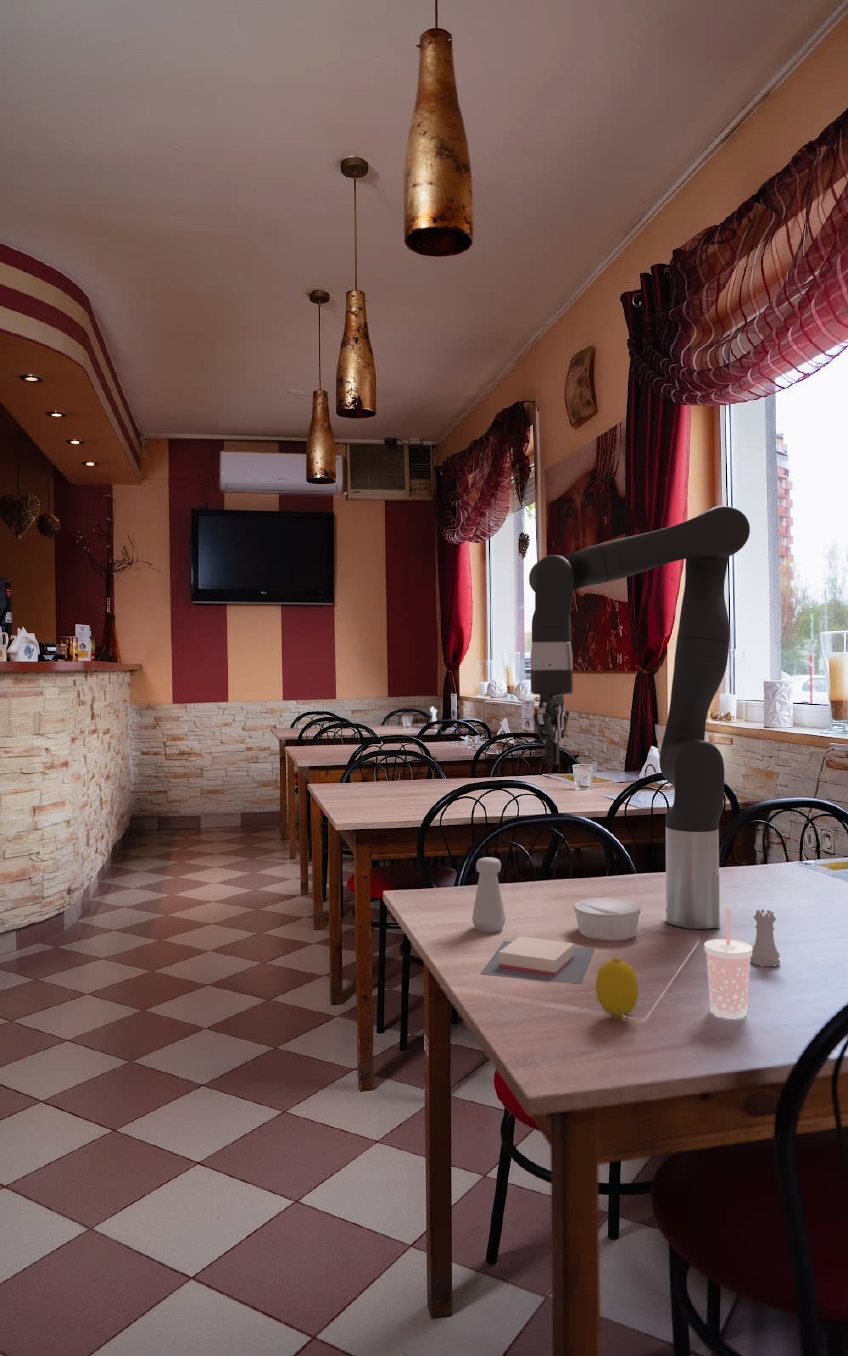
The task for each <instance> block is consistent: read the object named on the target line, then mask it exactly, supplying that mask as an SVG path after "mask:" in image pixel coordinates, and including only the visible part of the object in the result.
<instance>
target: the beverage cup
mask: <svg viewBox="0 0 848 1356" xmlns="http://www.w3.org/2000/svg"><path fill="white" fill-rule="evenodd" d="M725 911H726V912H725V925H726V926H725V928H726V929H725V930H726V932H725V938H724V939H723V938H719V939H715V938H714V939H709V940H707V941H705V942H703V946H704V952H705V954H706V965H707V983H708V994H709V997H708V998H709V1011H710V1014H712V1013H713V1014H714V1015H715V1016H714V1015H713V1014H712V1015H713V1016H714V1017H716V1018H719V1017H724V1018H729V1019H736V1018H741V1017H745V1016H746V1015H747V1016H748V1001H749V987H750V986H749V985H750V984H749V983H750V970H751V969H750V968H751V960H750V957H751V956H752V951H753V948H754V947H753V946H752V945H750V944H749V943H747V942H745V941H744V942H743V941H740V940H737V939H735V940H734V939H731V908H730V907H726V908H725ZM747 1016H746V1017H747ZM746 1017H745V1018H746ZM729 1019H728V1020H729Z"/></svg>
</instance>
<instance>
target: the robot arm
mask: <svg viewBox="0 0 848 1356" xmlns="http://www.w3.org/2000/svg"><path fill="white" fill-rule="evenodd" d="M750 527H751V525H750V523H749V519H748V517H747V516H746V515H745V514H744V513H743V512H742V511H741V510H739V509H738V508H736V507H733V506H729V505H719V506H714V507H712V508H709V509H707V510H706V511H703V512H702V513H700V514H698V515H697V516H695V517H693V518H691V519H688V520H686V521H683V522H680V523H677V524H674V525H671V526H668V527H667V526H666V527H665V528H661V529H657V530H653V531H649V532H645V533H640V534H636V535H635V534H634V535H632V536H625V537H623V538H618V539H615V540H614V539H613V540H610V541H604V542H602V543H597V544H595V545H591V546H588V547H586V548H584V549H581V550H579V551H577V552H573V553H569V554H565V555H558V554H551V555H547V556H545V557H543V558H541V559H539V561H537V562H536V563H535V564H534V565H533V566H532V568H531V569H530V572H529V575H528V582H529V586H530V588H531V590H532V591H533V592H534V594H535V595H534V605H535V606H534V612H533V615H532V619H531V648H530V649H531V650H530V692H531V694H532V695H538V696H539V702H538V706H537V712H534V713H533V721H534V724H535V728H536V731H537V734H538V738H539V740H540V741H542V742H543V744H544V763H545V764H546V765H554V766H555V765H558V764H559V763H560V743H561V741H562V739H564V738H565V734H566V729H567V726H568V722H569V721H568V720H569V716H570V712H569V710H567V709H566V708H567V707H566V704H565V700H564V695H571V694H572V693H573V691H574V686H573V685H574V683H573V682H574V680H573V678H574V676H573V675H574V673H573V672H574V670H573V661H574V660H573V650H572V623H571V621H572V620H571V613H572V605H573V604H572V603H573V596H574V591H576V590H579V589H582V588H585V587H588V586H594V585H599V584H604V583H608V582H609V583H610V582H613V581H616V580H622V579H624V578H629V577H631V576H635V575H638V574H640V573H643V572H647V571H649V570H653V569H655V568H657V567H660V566H661V567H662V566H664V565H667V564H671V563H674V562H678V561H682V560H685V577H684V579H685V580H684V589H683V595H682V599H681V600H682V602H681V607H680V608H681V609H680V616H679V622H678V631H677V634H676V635H677V636H676V642H675V643H676V646H675V650H674V651H675V653H674V663H673V664H674V665H673V673H672V681H671V690H670V691H671V692H670V701H669V703H670V704H669V710H668V714H667V715H668V716H667V721H666V724H665V730H664V734H663V738H662V741H661V747H660V751H659V757H658V758H659V759H658V761H659V762H658V763H659V769H660V773H661V775H662V776H663V778H664V779H665V781H666V782H668V783H669V784H670V785H672V786H674V795H673V796H674V798H673V804H672V806H671V807H670V808H669V809H668V810H667V811H666V813H665V912H666V913H665V915H666V917H665V918H666V919H665V920H666V922H667V923H668V924H670V925H671V926H675V927H680V928H684V929H694V930H698V929H699V930H704V929H706V930H707V929H720V927H721V926H720V925H721V924H720V923H721V921H720V920H721V919H720V911H721V910H720V909H721V908H720V904H721V903H720V900H721V899H720V846H719V845H720V843H719V842H720V838H719V837H720V834H719V833H720V832H719V831H720V829H719V828H720V818H721V816H722V814H723V811H724V798H725V796H724V795H725V763H724V757H723V756H722V754H721V751H720V750H719V748H718V747H717V746H715V745H714V744H713V743H711V742H709V741H706V740H705V737H706V724H707V718H708V713H709V709H710V707H711V704H712V702H713V700H714V697H715V696H716V693H717V692H718V690H719V688H720V685H721V683H722V681H723V679H724V677H725V673H726V669H727V666H728V659H729V650H730V641H731V640H730V639H731V627H730V621H729V620H730V619H729V615H728V611H727V610H728V609H727V605H726V599H725V584H726V583H725V582H726V581H725V580H726V574H727V568H728V563H729V560H730V557H731V556H733V555H735V554H736V553H739V551H740V550H741V549H743V547H745V545H746V544H747V542H748V540H749V537H750V534H751V533H750V532H751V529H750Z"/></svg>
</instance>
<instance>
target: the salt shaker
mask: <svg viewBox="0 0 848 1356" xmlns="http://www.w3.org/2000/svg"><path fill="white" fill-rule="evenodd" d="M501 867H502V863H501V860H500V859H498V858H496V857H492V856H490V857H489V856H486V857H484V856H483V857H482V858H479V859H478V860H477V861H476V863H475V869H476V872H478V873H479V875H478V881H477V886H476V887H477V888H476V893H475V899H474V900H475V901H474V904H473V905H474V906H473V912H472V917H471V920H472V923H473V926H474V929H475V930H476V931H478V932H480V933H484V934H495V933H498V932H502V930H503V928H504V926H505V923H506V914H505V913H506V912H505V908H504V905H503V899H502V894H501V893H502V892H501V888H500V884H499V878H498V877H499V876H498V873H500V872H501V869H502V868H501Z"/></svg>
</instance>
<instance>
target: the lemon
mask: <svg viewBox="0 0 848 1356" xmlns="http://www.w3.org/2000/svg"><path fill="white" fill-rule="evenodd" d="M639 991H640V988H639V981H638V977H637V974H636V972H635V969H634V967H632V966H631V964H629V963H627V962H626V961H624V960H622V959H620V957H614V958H613V959H611V960H608V961H606V962H605V963H603V964H602V966H601V967H600V968H599V970H598V971H597V975H596V979H595V995H596V998H597V1002H598V1003H599V1005H600V1006H601V1008H602V1009H603V1010H604V1011H605V1012H607V1013H608V1014H610V1015H612V1017H613V1018H615V1019H617V1020H619V1019H621V1018H622V1016H623V1015H627V1014H629V1013H631V1011H632V1010H633V1009H634V1008H635V1006H637V1005H636V1004H637V1002H638V998H639V993H640V992H639Z"/></svg>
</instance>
